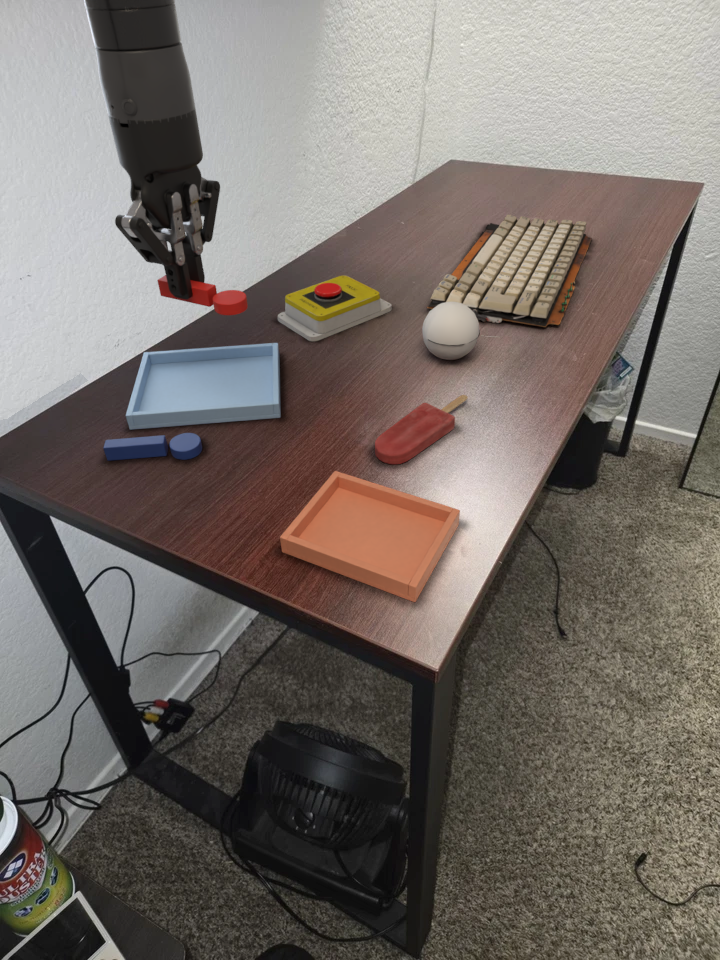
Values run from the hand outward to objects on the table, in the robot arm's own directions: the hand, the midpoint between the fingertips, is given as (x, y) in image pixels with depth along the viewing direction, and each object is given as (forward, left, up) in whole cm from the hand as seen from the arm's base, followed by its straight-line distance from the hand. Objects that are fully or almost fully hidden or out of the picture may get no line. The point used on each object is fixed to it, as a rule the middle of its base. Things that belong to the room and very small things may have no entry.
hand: (188, 292), depth 69 cm
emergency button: (+16, +22, -15) cm, 32 cm away
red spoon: (+2, -1, -1) cm, 2 cm away
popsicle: (+24, -7, -15) cm, 30 cm away
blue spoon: (-6, -7, -15) cm, 18 cm away
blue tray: (-1, +5, -15) cm, 16 cm away
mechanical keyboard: (+47, +33, -15) cm, 59 cm away
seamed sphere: (+31, +7, -15) cm, 36 cm away
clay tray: (+16, -23, -15) cm, 32 cm away
